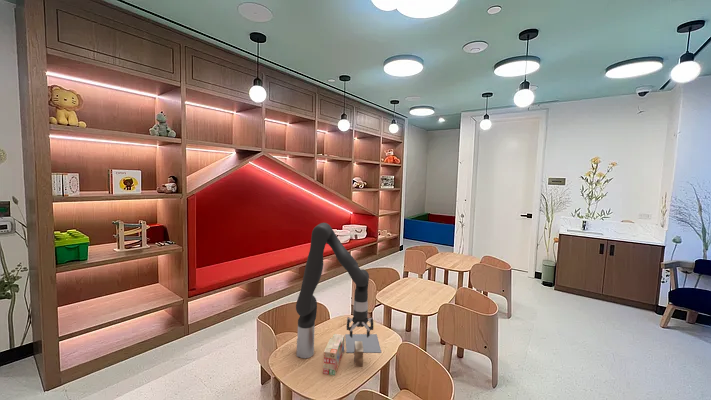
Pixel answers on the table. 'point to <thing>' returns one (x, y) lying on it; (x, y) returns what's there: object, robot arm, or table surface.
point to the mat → (368, 343)
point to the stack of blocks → (333, 354)
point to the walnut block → (358, 354)
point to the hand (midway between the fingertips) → (359, 336)
